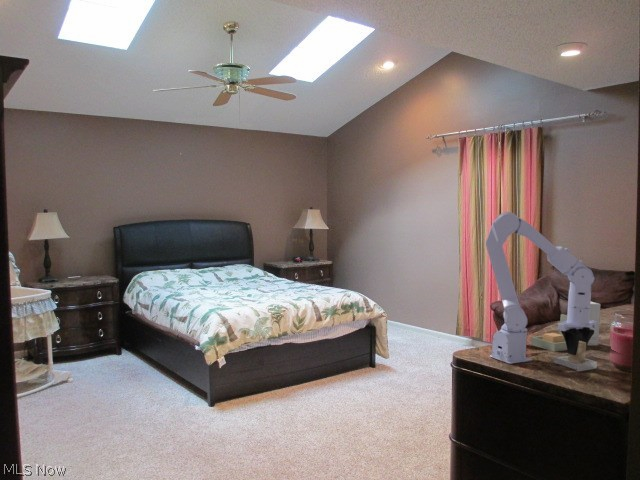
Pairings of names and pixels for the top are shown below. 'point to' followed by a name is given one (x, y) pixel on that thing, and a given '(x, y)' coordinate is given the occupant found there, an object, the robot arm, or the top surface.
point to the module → (553, 337)
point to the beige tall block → (579, 353)
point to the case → (548, 345)
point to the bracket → (576, 366)
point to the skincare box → (595, 317)
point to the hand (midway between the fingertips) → (576, 353)
